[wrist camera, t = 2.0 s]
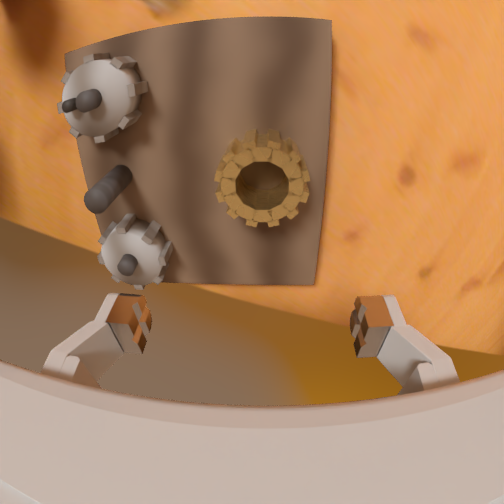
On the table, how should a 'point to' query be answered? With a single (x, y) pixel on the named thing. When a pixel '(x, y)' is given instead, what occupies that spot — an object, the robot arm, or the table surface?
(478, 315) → the table surface
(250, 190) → the brass gear
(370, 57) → the table surface
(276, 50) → the gear board
